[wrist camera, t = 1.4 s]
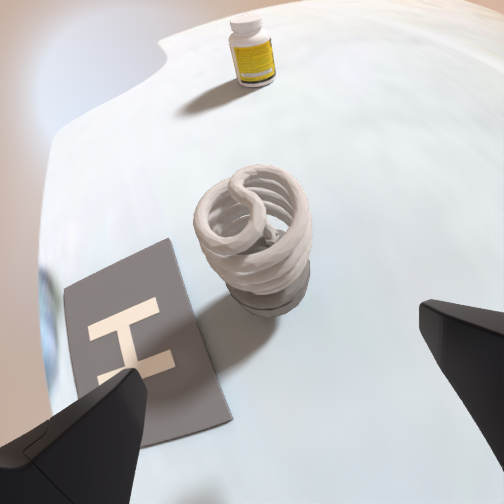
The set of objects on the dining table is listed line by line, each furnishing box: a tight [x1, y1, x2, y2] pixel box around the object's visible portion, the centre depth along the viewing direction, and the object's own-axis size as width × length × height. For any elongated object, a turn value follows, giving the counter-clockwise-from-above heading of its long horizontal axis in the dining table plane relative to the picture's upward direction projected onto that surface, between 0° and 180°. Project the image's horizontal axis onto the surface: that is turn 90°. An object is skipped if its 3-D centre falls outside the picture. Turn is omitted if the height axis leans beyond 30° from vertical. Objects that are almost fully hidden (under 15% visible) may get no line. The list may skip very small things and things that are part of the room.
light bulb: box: [193, 164, 312, 317], centre depth 18 cm, size 6×6×12 cm
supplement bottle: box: [229, 14, 276, 87], centre depth 35 cm, size 5×5×10 cm
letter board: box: [64, 238, 233, 447], centre depth 23 cm, size 16×12×1 cm
